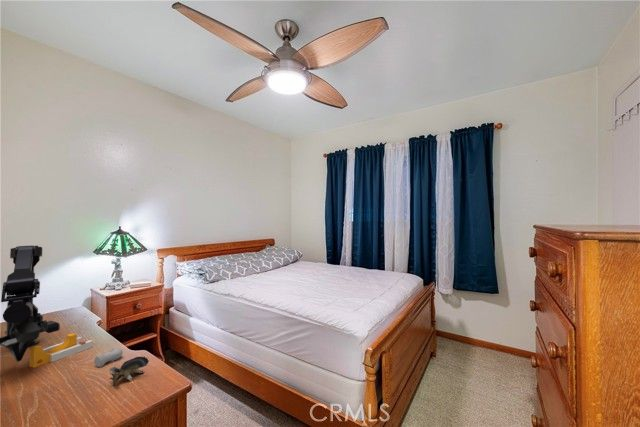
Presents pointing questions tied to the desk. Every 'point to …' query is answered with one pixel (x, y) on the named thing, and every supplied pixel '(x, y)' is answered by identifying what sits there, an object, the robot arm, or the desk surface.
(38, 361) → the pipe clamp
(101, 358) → the smooth white sculpture
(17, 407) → the desk surface
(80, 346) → the guide channel
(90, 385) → the desk surface
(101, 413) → the desk surface
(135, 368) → the dark grey animal figurine
